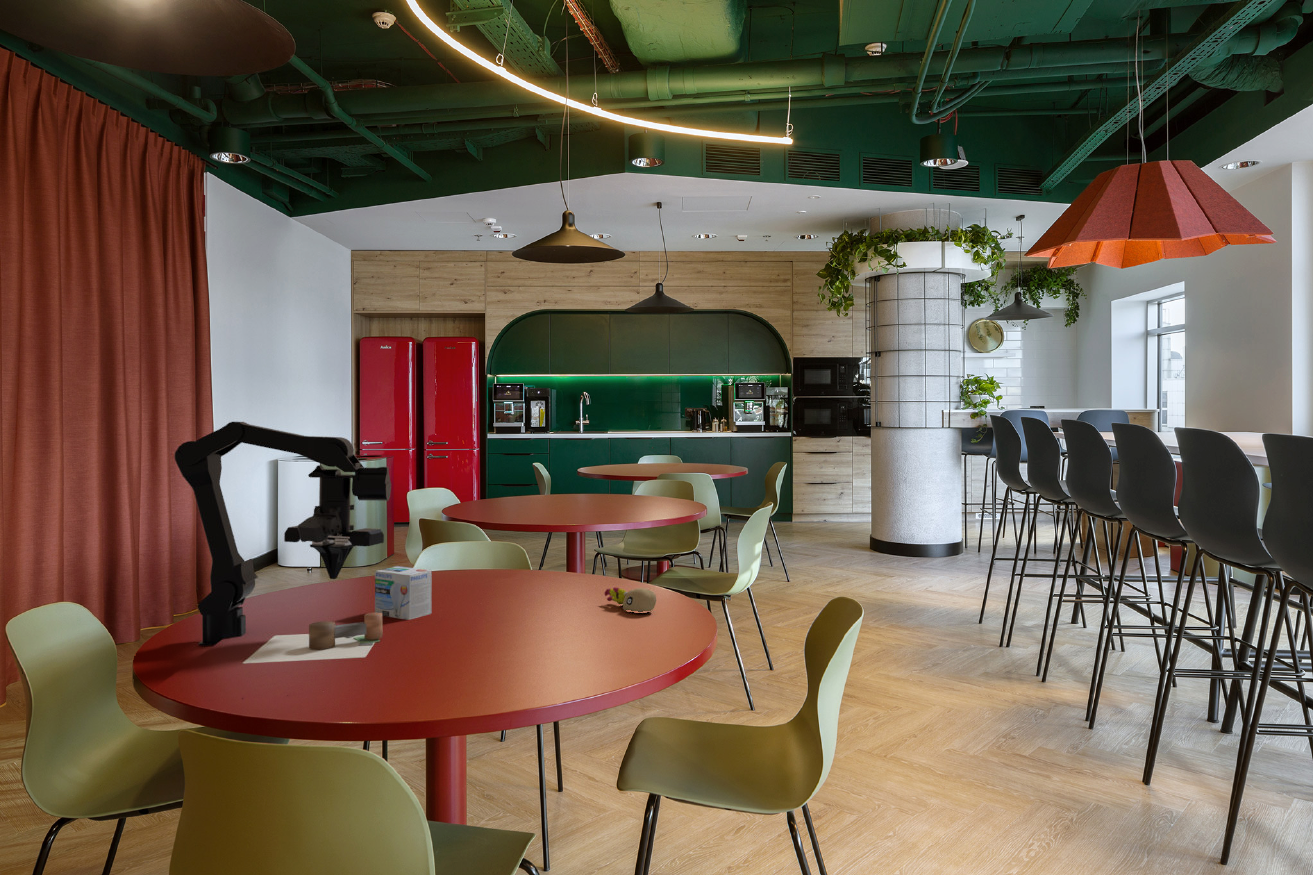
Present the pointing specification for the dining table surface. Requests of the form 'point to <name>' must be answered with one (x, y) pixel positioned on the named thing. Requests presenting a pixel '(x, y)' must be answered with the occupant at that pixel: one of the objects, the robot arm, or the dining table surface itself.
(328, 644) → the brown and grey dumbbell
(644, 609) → the toy
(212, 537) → the robot arm
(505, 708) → the dining table surface
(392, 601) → the light bulb box
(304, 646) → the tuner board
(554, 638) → the dining table surface
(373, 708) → the dining table surface
